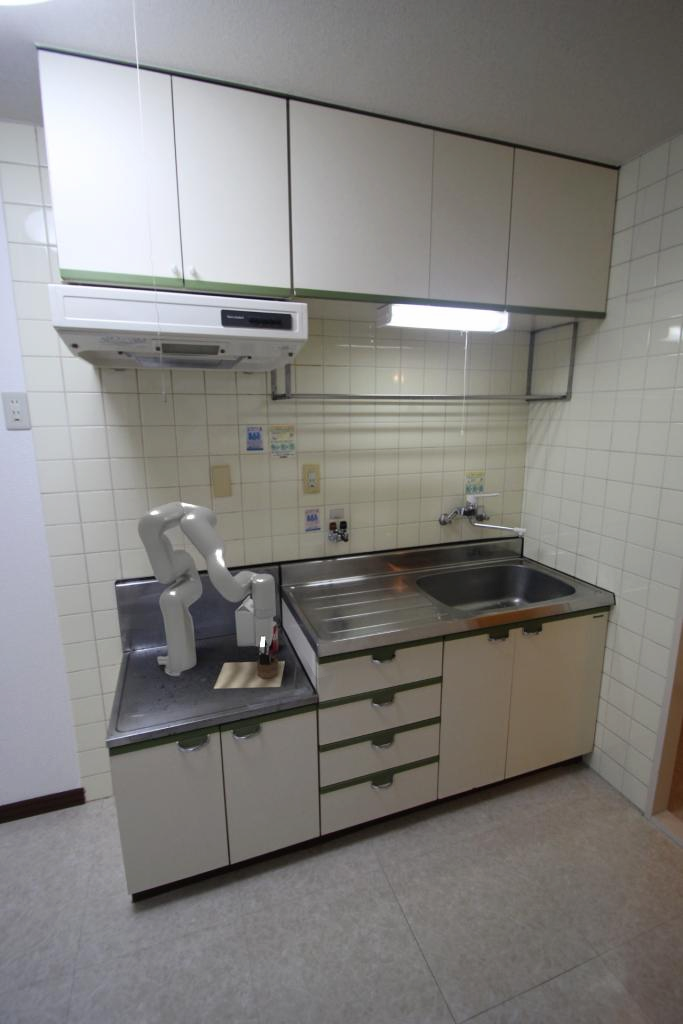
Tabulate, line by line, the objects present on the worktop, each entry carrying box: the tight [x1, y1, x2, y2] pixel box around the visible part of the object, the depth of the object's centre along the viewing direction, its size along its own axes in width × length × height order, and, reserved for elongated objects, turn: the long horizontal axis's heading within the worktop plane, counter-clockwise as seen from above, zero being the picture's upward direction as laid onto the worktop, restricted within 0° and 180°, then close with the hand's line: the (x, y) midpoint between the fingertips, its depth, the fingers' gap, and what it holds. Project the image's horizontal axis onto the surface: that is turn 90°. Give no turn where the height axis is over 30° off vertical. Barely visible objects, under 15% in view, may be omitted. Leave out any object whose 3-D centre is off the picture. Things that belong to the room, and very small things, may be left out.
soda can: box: [258, 620, 279, 655], centre depth 178 cm, size 7×7×12 cm
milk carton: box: [234, 594, 257, 647], centre depth 185 cm, size 7×7×19 cm
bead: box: [256, 654, 279, 679], centre depth 162 cm, size 7×7×5 cm
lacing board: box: [213, 652, 286, 690], centre depth 161 cm, size 22×16×9 cm
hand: (266, 656), depth 161 cm, fingers open, 9 cm apart
